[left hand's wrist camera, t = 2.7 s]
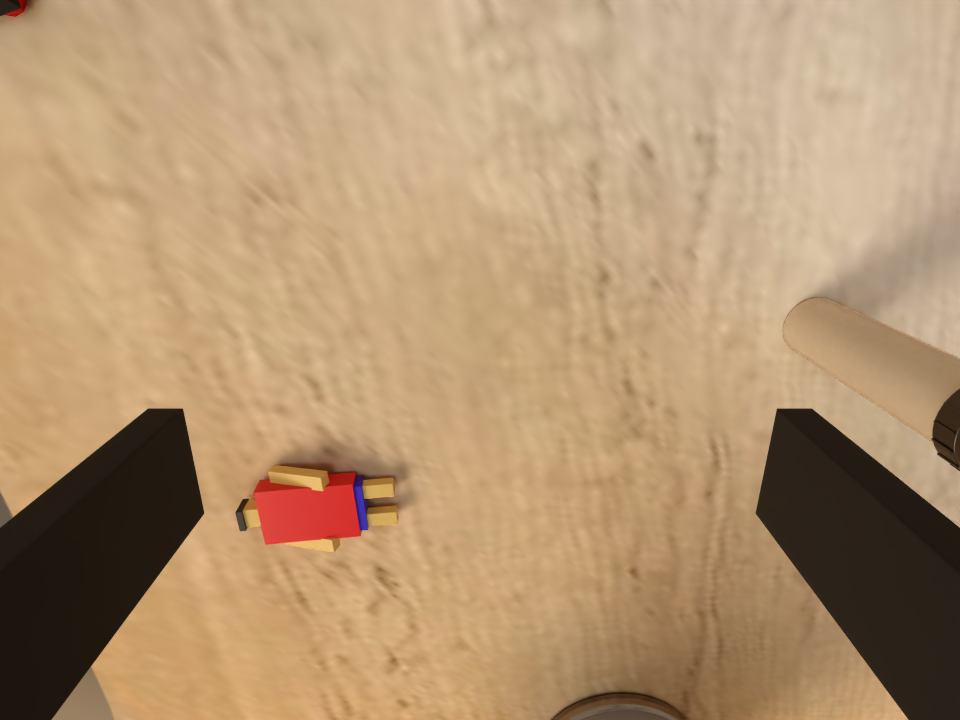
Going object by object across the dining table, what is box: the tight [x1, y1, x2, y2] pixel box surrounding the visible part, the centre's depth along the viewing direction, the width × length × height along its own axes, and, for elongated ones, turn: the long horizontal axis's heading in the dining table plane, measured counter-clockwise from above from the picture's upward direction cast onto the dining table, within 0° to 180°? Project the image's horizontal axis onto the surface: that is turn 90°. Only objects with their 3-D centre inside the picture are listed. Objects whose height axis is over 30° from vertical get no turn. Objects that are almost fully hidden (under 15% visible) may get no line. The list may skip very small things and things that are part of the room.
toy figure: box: [236, 465, 398, 552], centre depth 45 cm, size 2×7×12 cm
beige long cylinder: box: [783, 297, 960, 443], centre depth 33 cm, size 4×4×16 cm
